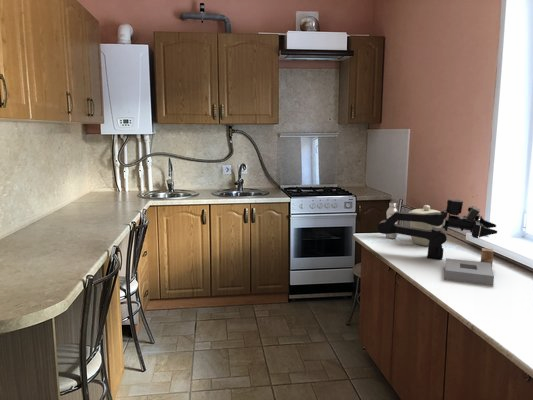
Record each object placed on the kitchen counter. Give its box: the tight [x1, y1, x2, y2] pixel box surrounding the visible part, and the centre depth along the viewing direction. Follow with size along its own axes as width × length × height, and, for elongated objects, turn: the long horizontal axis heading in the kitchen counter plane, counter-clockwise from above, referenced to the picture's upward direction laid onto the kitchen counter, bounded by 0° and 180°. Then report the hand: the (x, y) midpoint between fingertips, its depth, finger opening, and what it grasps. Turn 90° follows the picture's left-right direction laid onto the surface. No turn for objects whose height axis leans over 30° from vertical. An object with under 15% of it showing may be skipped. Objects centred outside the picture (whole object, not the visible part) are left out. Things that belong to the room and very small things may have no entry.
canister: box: [408, 204, 443, 247], centre depth 235 cm, size 18×18×21 cm
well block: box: [444, 257, 495, 286], centre depth 186 cm, size 18×18×4 cm
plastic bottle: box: [385, 202, 398, 239], centre depth 247 cm, size 6×7×20 cm
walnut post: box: [480, 247, 494, 267], centre depth 198 cm, size 4×4×8 cm
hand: (496, 229), depth 199 cm, fingers open, 9 cm apart
